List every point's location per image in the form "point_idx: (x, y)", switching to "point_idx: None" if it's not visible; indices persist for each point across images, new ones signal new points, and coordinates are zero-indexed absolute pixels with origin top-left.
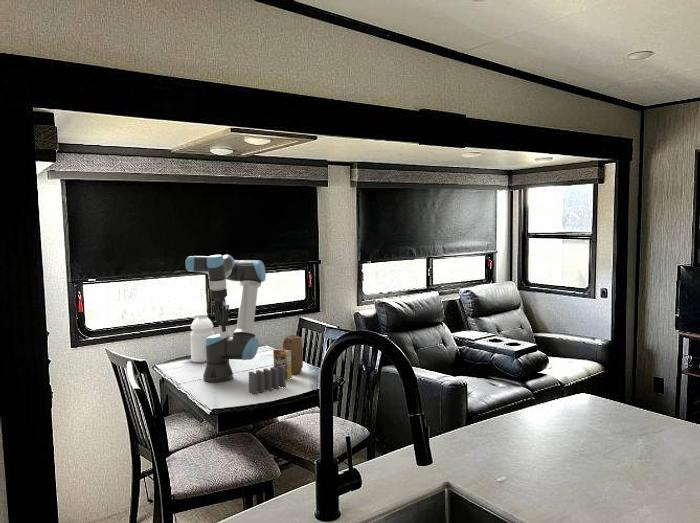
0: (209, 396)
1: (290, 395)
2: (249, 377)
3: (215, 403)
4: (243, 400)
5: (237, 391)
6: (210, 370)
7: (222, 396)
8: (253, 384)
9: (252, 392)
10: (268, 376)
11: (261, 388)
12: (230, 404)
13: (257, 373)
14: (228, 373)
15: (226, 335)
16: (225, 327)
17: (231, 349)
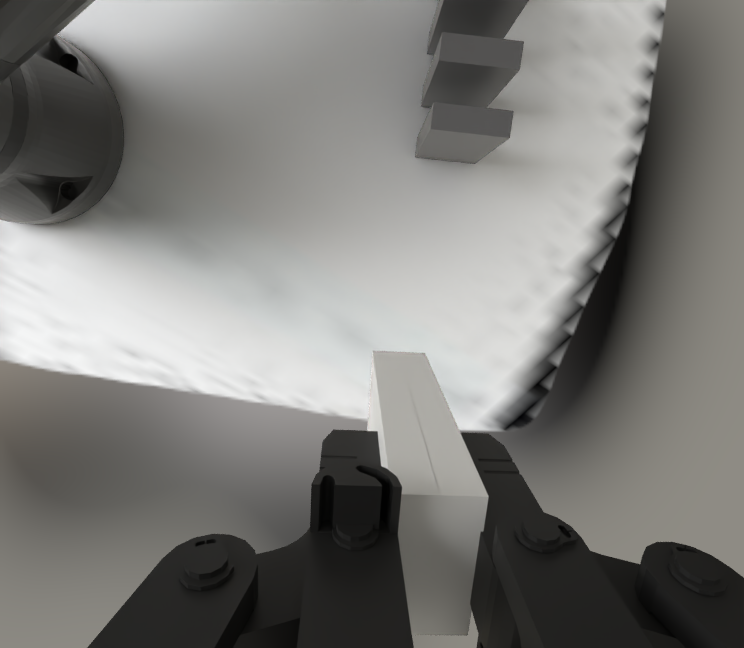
0: (316, 350)
1: (643, 13)
2: (436, 139)
3: None
4: (505, 260)
5: (350, 195)
6: (18, 196)
7: (366, 302)
8: (482, 151)
9: (456, 159)
10: (514, 17)
11: (487, 105)
12: (506, 342)
13: (457, 69)
14: (87, 90)
15: (429, 369)
16: (528, 494)
17: (18, 14)
